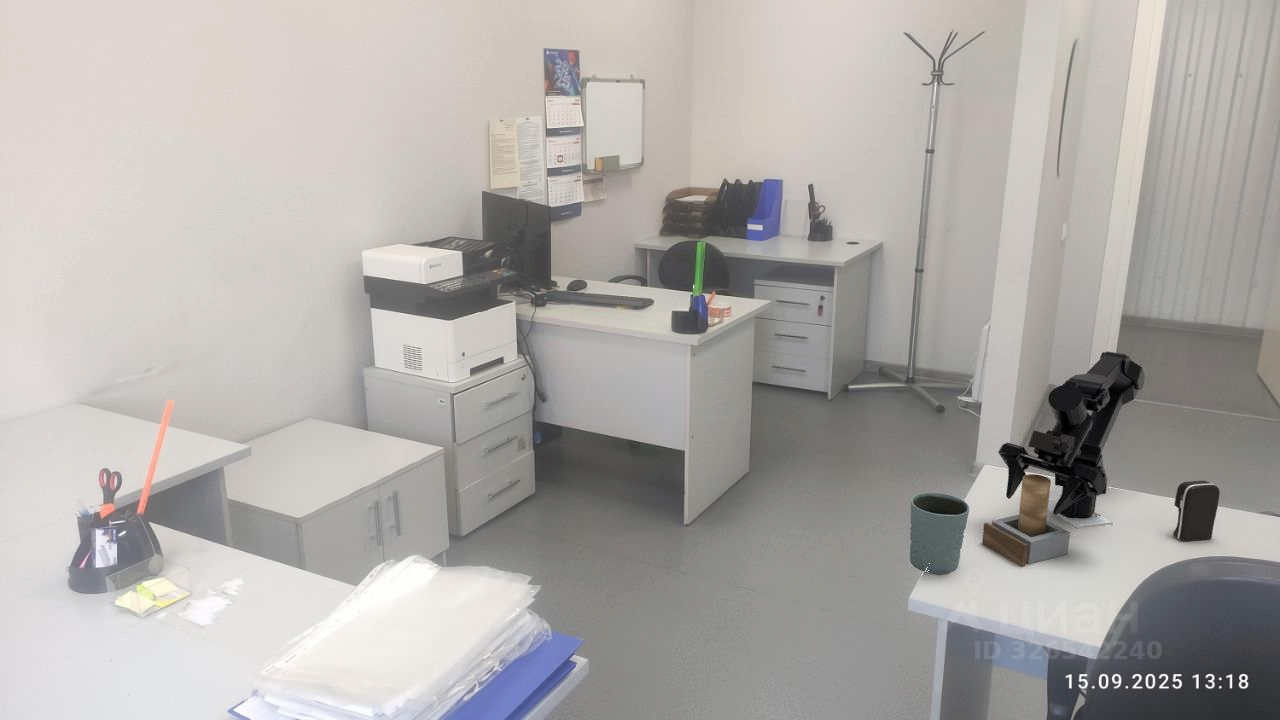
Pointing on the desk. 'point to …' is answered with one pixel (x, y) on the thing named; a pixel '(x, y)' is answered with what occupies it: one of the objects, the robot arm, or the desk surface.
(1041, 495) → the oak dowel
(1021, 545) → the backstop wall
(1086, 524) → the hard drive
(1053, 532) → the socket block
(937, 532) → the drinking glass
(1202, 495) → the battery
